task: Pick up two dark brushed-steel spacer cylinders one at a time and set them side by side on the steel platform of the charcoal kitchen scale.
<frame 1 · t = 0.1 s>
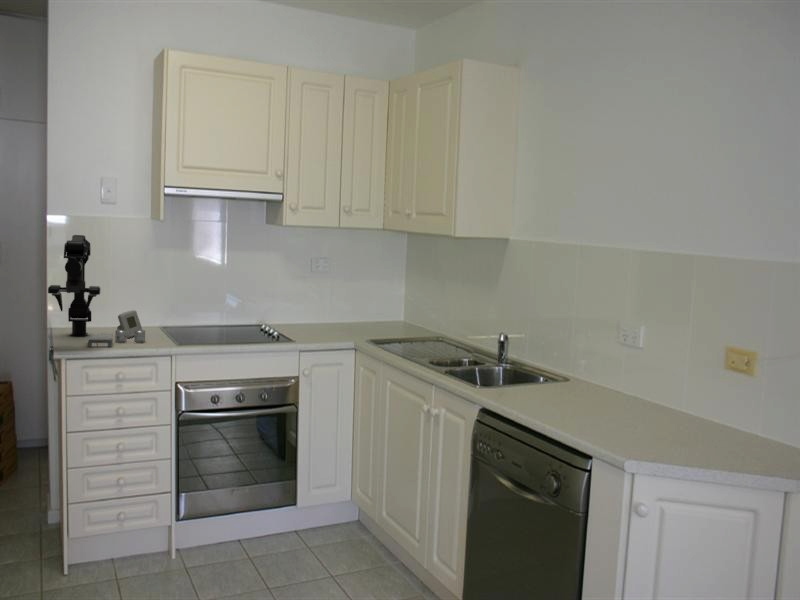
hand: (74, 311, 294), 15 cm above the table, fingers open, 9 cm apart
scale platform: (100, 336, 304), point 3 cm above the table, slide at -0.2 cm
digital clock: (130, 336, 329), on the table
spacer b: (139, 342, 316), on the table
scale base: (100, 344, 304), on the table
spacer a: (120, 342, 313), on the table
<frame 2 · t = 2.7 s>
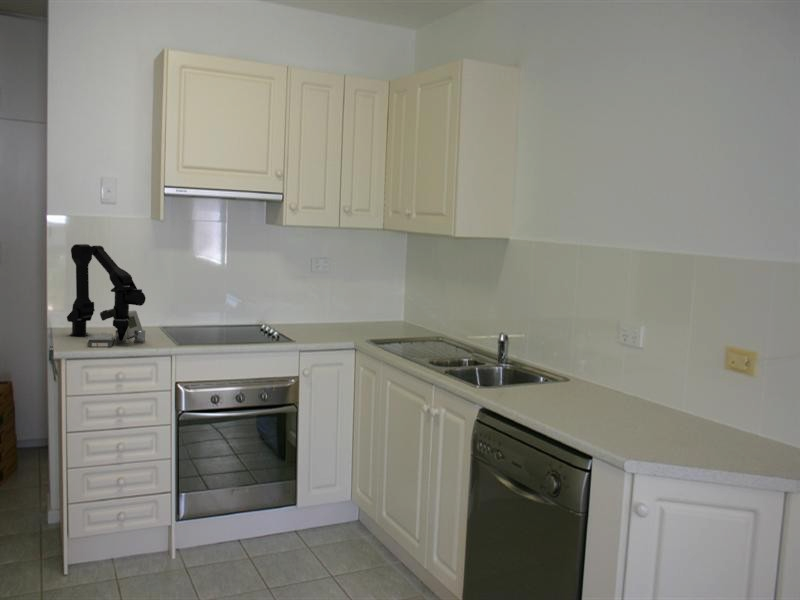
hand: (120, 339, 313), 1 cm above the table, fingers closed on spacer a, 4 cm apart
spacer a: (120, 342, 313), on the table, touching gripper
everything else where it was.
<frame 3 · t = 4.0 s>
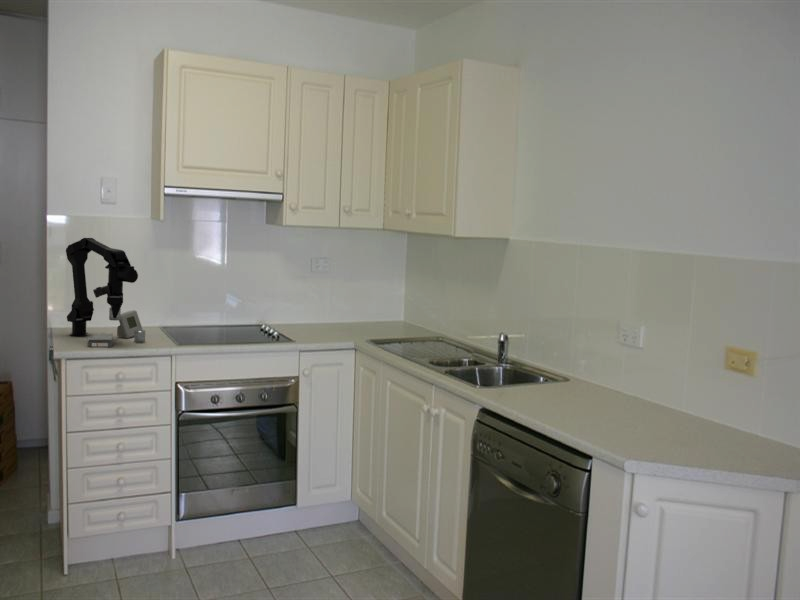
hand: (114, 317, 310), 11 cm above the table, fingers closed on spacer a, 4 cm apart
spacer a: (114, 319, 310), point 10 cm above the table, touching gripper
everything else where it was.
when the fingers open (6 cm above the table, at t = 5.5 s): spacer a drops 2 cm, resting on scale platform.
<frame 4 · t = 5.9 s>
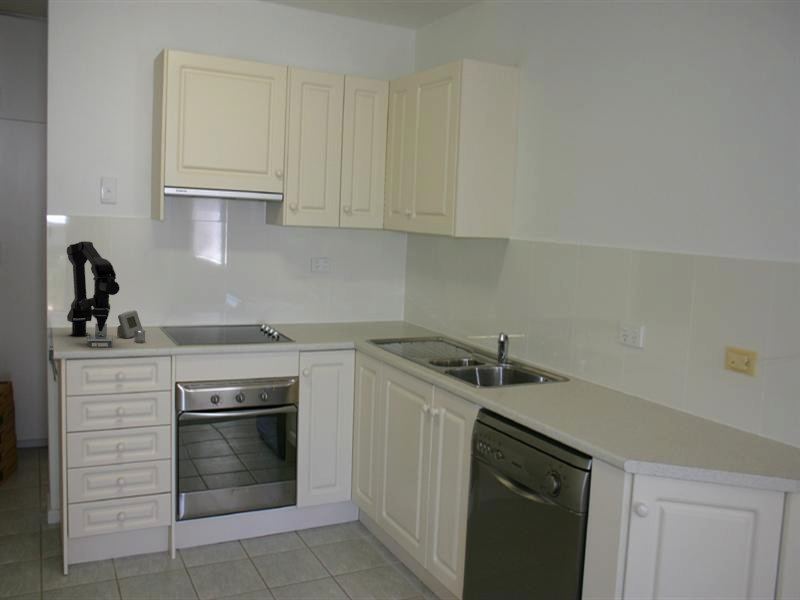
hand: (101, 329, 306), 6 cm above the table, fingers open, 9 cm apart
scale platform: (100, 337, 304), point 3 cm above the table, slide at -0.8 cm, touching spacer a
spacer a: (100, 335, 307), point 3 cm above the table, touching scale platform
everything else where it was.
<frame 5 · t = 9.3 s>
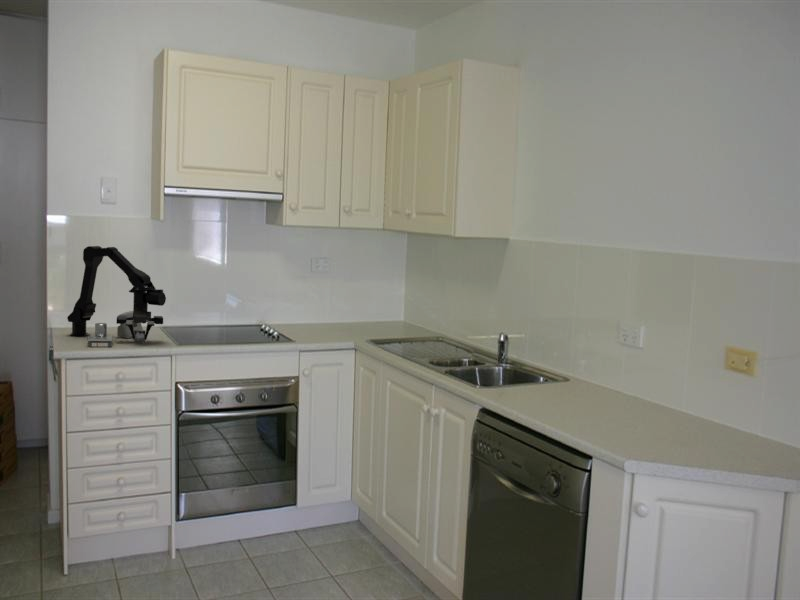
hand: (139, 339, 316), 1 cm above the table, fingers closed on spacer b, 4 cm apart
spacer b: (139, 342, 316), on the table, touching gripper
everything else where it was.
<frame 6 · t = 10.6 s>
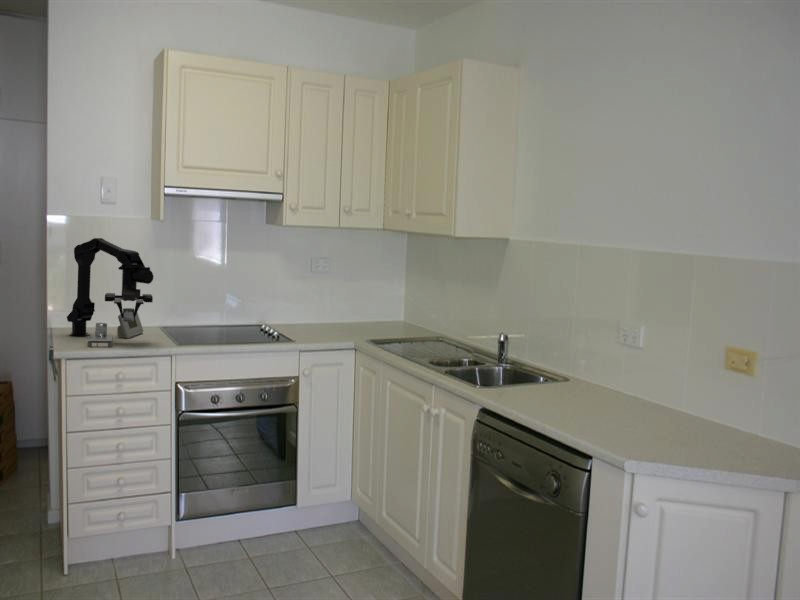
hand: (128, 318, 310), 11 cm above the table, fingers closed on spacer b, 4 cm apart
spacer b: (128, 320, 310), point 10 cm above the table, touching gripper
everything else where it was.
when the fingers open (6 cm above the table, at t = 12.4 s): spacer b drops 2 cm, resting on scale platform.
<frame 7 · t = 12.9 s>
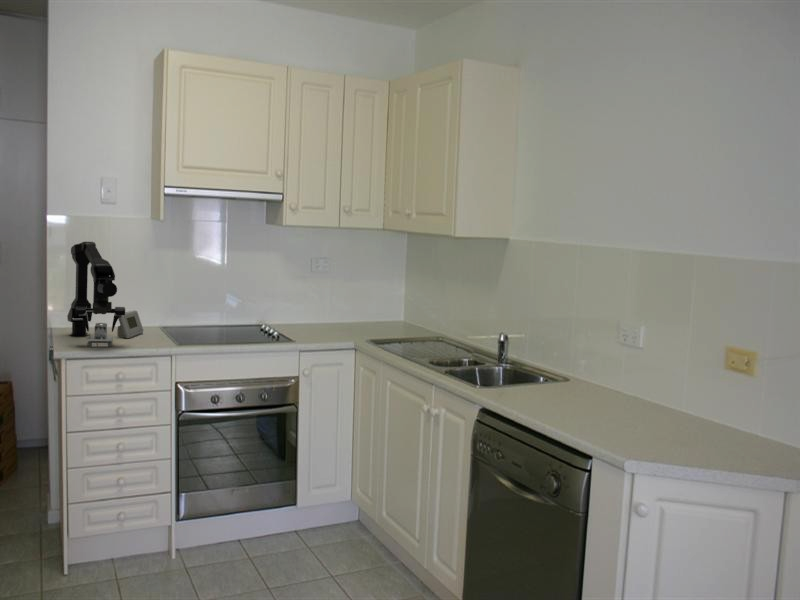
hand: (100, 331, 301), 6 cm above the table, fingers open, 9 cm apart
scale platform: (100, 338, 304), point 3 cm above the table, slide at -0.9 cm, touching spacer a, spacer b
spacer b: (100, 338, 302), point 3 cm above the table, touching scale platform
everything else where it was.
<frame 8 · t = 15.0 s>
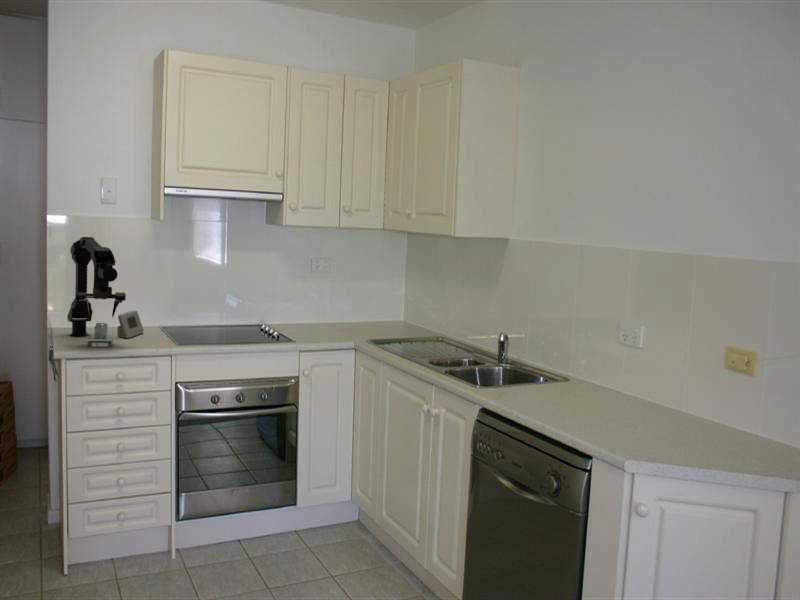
hand: (100, 317, 301), 12 cm above the table, fingers open, 9 cm apart
nothing on the table moved.
at the end: spacer a inside the target area on the scale base (2.8 cm from its centre), point 3.4 cm above the scale base's base; spacer b inside the target area on the scale base (2.7 cm from its centre), point 3.2 cm above the scale base's base; spacer b tilted 0° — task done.
